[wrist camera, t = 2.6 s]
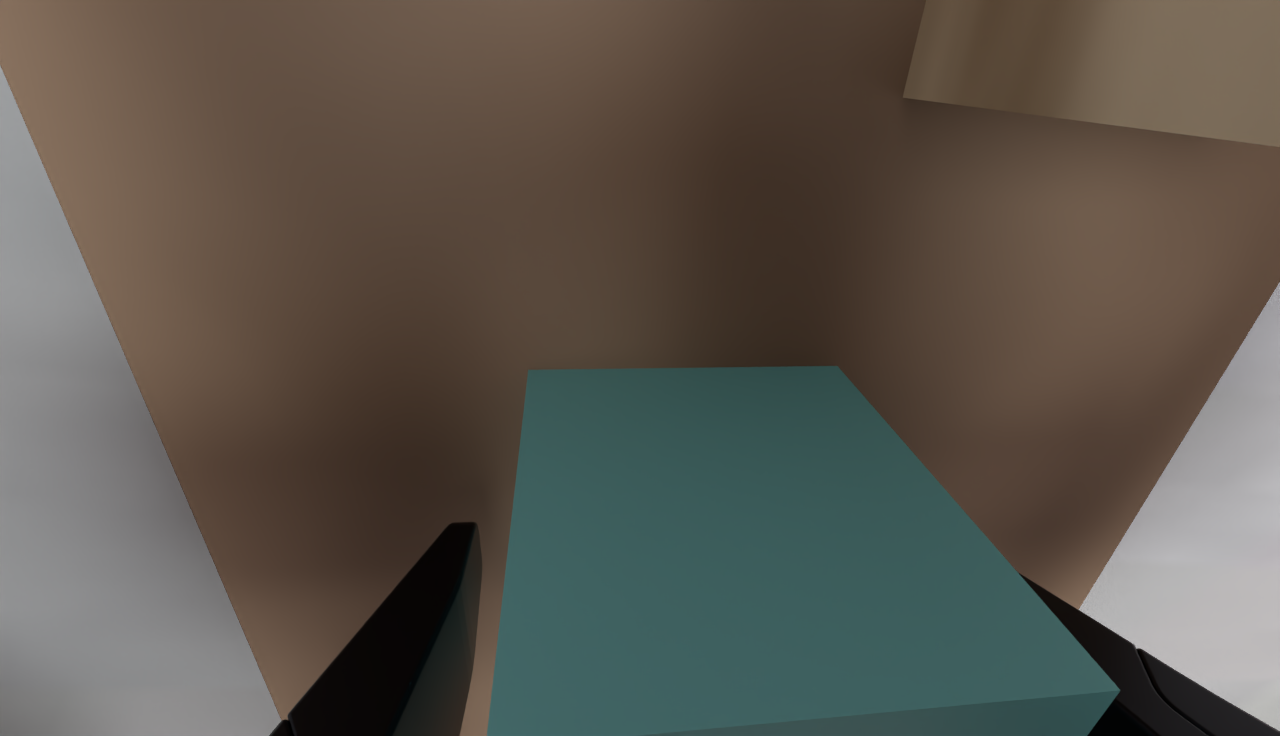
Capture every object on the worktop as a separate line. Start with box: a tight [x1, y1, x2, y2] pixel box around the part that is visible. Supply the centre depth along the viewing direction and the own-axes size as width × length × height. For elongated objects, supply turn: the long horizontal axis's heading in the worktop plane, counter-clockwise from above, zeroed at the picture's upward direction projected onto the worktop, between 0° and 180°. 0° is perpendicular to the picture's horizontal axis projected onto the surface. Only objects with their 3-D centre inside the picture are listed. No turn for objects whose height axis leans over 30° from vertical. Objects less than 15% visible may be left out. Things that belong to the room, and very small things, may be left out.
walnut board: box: [0, 0, 1280, 736], centre depth 11 cm, size 18×25×1 cm
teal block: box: [487, 366, 1121, 736], centre depth 8 cm, size 5×5×6 cm
